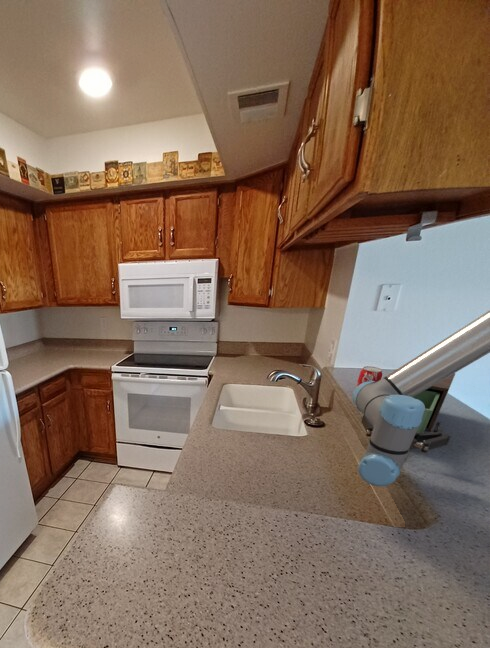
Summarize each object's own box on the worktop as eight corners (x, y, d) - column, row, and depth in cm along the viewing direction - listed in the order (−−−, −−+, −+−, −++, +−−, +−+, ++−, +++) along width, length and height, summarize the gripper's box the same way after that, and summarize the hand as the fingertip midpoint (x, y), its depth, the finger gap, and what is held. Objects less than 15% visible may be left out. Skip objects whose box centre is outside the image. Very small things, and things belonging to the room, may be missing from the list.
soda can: (358, 396, 130) (367, 364, 124) (376, 402, 125) (387, 369, 118) (348, 400, 127) (357, 367, 120) (366, 406, 121) (377, 372, 115)
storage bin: (417, 445, 94) (432, 410, 89) (382, 435, 99) (394, 402, 94) (427, 424, 106) (440, 392, 100) (395, 416, 111) (406, 385, 106)
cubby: (430, 432, 104) (449, 389, 97) (387, 420, 111) (401, 380, 104) (438, 412, 117) (455, 373, 110) (399, 403, 124) (413, 366, 117)
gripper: (335, 443, 90) (358, 418, 104) (448, 479, 76) (457, 445, 89) (342, 418, 87) (364, 396, 101) (462, 452, 72) (469, 420, 86)
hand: (408, 419), depth 95 cm, fingers open, 13 cm apart
